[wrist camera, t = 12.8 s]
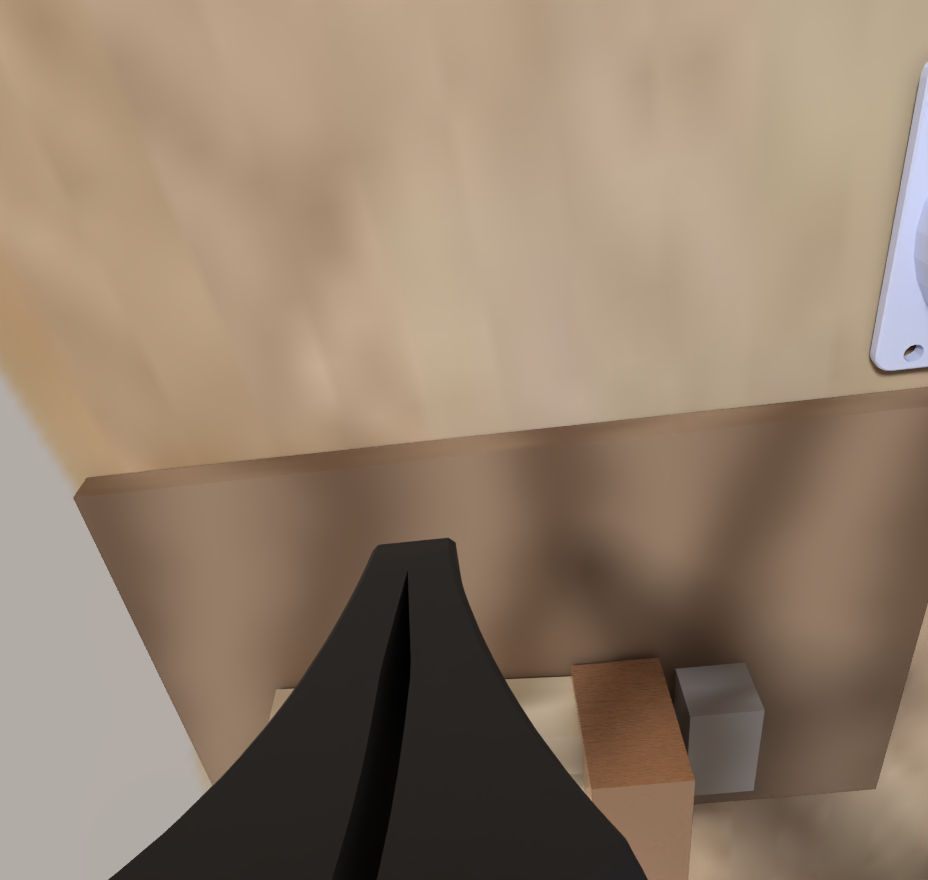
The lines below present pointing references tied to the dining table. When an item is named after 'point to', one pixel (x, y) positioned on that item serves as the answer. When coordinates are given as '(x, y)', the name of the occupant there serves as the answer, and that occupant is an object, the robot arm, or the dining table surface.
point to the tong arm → (534, 715)
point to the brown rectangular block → (637, 761)
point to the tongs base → (570, 571)
